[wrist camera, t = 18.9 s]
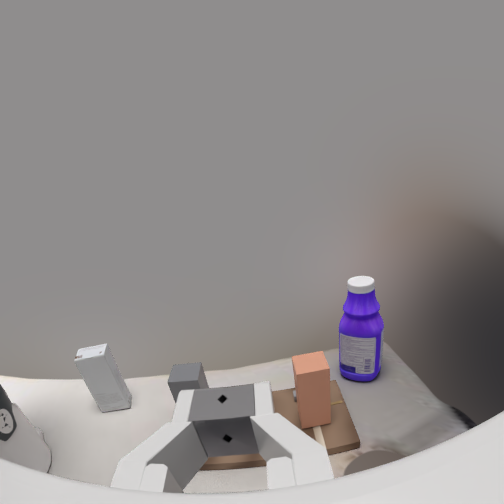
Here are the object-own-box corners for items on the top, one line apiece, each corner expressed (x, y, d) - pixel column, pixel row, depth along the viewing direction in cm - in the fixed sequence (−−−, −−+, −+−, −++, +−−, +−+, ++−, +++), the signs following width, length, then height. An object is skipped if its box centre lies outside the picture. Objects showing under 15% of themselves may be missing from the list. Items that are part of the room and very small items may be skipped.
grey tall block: (188, 433, 39) (167, 382, 36) (191, 415, 42) (173, 364, 40) (215, 431, 39) (197, 380, 36) (217, 413, 42) (201, 362, 40)
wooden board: (166, 470, 33) (159, 459, 33) (180, 407, 47) (176, 395, 46) (359, 447, 33) (360, 435, 32) (335, 386, 47) (335, 374, 46)
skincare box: (131, 395, 51) (109, 341, 48) (131, 409, 47) (105, 354, 44) (103, 399, 50) (78, 347, 46) (100, 414, 45) (73, 359, 42)
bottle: (384, 366, 49) (387, 274, 44) (376, 386, 44) (379, 289, 40) (346, 361, 53) (343, 272, 48) (335, 379, 48) (330, 286, 44)
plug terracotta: (301, 428, 37) (296, 374, 34) (297, 410, 41) (291, 356, 38) (330, 423, 37) (329, 368, 34) (324, 404, 41) (322, 350, 38)
